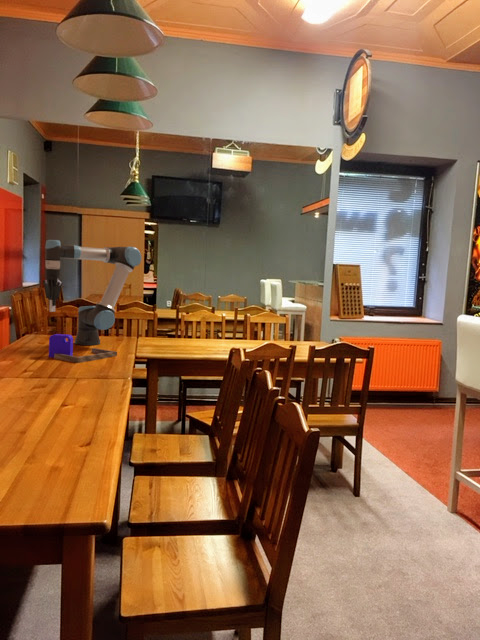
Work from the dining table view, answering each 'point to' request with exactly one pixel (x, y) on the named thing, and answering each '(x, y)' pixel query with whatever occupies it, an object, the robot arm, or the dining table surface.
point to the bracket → (60, 344)
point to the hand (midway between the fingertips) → (52, 311)
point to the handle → (100, 355)
